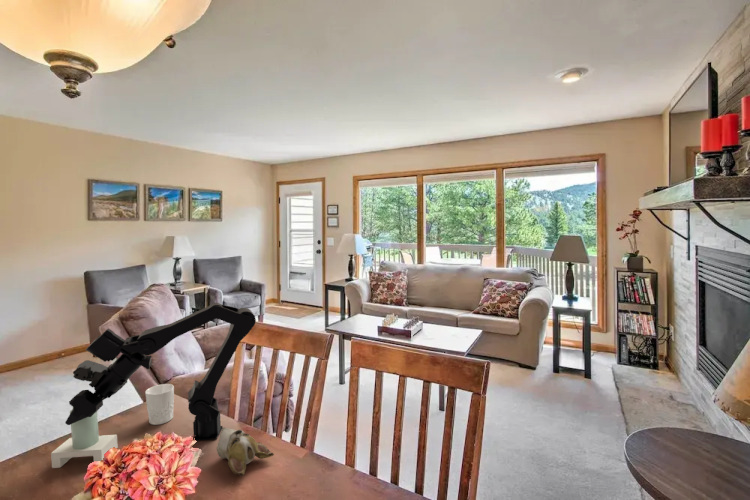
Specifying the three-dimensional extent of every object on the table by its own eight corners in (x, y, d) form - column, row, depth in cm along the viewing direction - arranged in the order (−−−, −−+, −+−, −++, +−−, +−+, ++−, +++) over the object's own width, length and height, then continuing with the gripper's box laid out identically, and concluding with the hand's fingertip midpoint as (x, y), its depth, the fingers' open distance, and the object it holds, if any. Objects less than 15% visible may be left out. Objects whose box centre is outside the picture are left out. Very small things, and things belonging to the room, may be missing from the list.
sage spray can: (103, 436, 103) (100, 390, 102) (90, 448, 97) (86, 400, 96) (81, 437, 102) (78, 392, 101) (67, 450, 97) (63, 401, 96)
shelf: (117, 448, 104) (116, 434, 104) (102, 464, 97) (101, 449, 97) (71, 451, 103) (70, 437, 102) (52, 468, 96) (50, 453, 95)
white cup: (166, 426, 115) (164, 394, 115) (141, 426, 115) (139, 394, 115) (180, 413, 123) (178, 383, 123) (156, 413, 123) (155, 383, 123)
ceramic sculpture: (240, 413, 105) (276, 432, 97) (240, 441, 106) (275, 463, 98) (204, 430, 96) (240, 453, 88) (205, 462, 97) (240, 487, 89)
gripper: (112, 340, 108) (71, 381, 106) (76, 364, 90) (25, 414, 88) (144, 364, 110) (104, 405, 108) (114, 392, 92) (66, 441, 90)
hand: (77, 414), depth 99 cm, fingers open, 9 cm apart
